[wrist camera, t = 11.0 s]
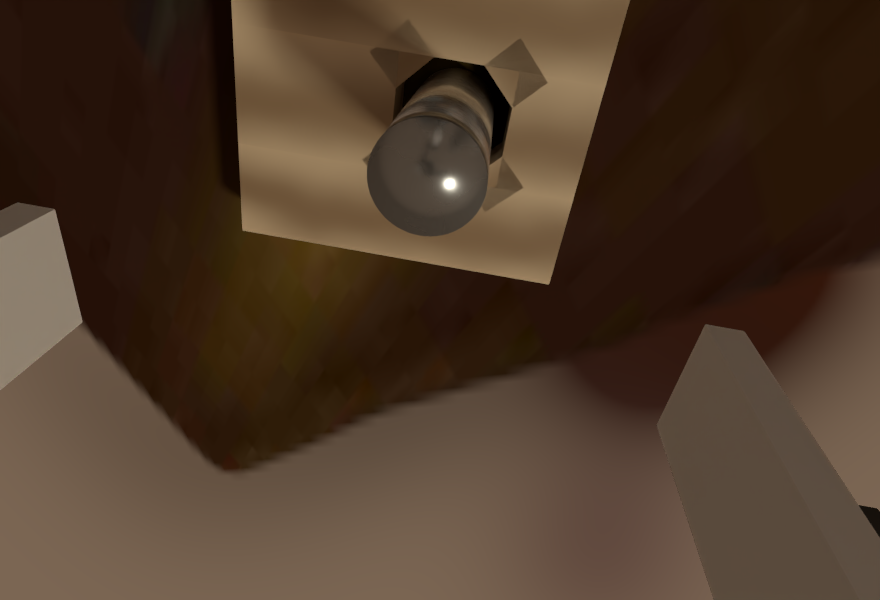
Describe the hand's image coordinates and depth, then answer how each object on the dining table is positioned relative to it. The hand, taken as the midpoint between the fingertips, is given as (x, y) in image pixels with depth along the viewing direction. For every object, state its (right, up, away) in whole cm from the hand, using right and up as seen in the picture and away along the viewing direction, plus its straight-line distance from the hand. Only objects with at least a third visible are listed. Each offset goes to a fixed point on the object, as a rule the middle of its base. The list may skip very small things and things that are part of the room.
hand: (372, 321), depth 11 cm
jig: (0, +11, +19) cm, 22 cm away
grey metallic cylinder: (+2, +11, +19) cm, 22 cm away
